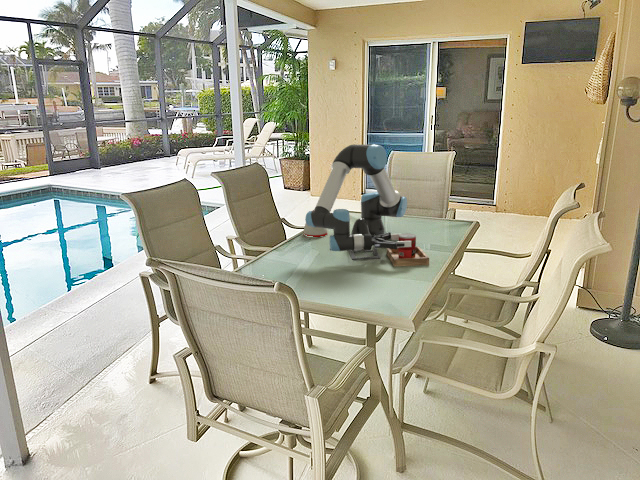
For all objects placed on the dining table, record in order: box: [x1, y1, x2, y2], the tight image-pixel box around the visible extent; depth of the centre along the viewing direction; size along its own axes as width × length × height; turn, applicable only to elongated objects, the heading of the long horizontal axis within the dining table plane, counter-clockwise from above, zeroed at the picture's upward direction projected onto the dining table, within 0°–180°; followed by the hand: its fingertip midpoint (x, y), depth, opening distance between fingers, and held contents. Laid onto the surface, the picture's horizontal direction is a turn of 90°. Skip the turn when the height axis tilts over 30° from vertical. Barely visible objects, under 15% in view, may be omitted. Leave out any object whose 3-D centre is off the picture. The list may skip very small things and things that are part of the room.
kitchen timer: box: [303, 209, 328, 238], centre depth 282 cm, size 14×14×15 cm
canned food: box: [398, 232, 417, 258], centre depth 230 cm, size 8×8×11 cm
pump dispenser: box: [350, 217, 370, 235], centre depth 254 cm, size 10×10×15 cm
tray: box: [386, 245, 430, 267], centre depth 232 cm, size 20×16×3 cm
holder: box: [348, 246, 381, 261], centre depth 241 cm, size 14×14×4 cm
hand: (407, 240), depth 230 cm, fingers open, 13 cm apart
